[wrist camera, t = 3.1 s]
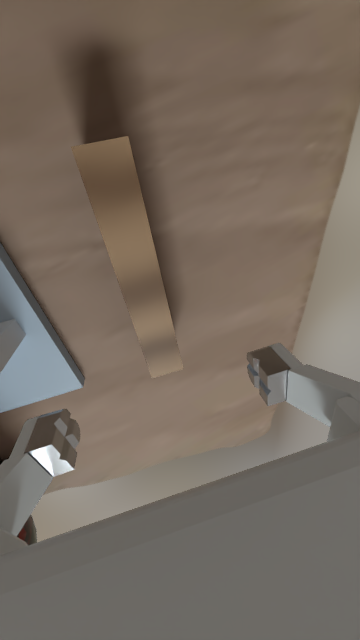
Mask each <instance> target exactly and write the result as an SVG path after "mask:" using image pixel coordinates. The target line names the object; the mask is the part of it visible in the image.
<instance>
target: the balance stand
mask: <svg viewBox="0 0 360 640" xmlns="http://www.w3.org/2000/svg"><path fill="white" fill-rule="evenodd" d="M84 380H85V378H84V377H83V375H82V374H81V372H80V370H79V369H78V367H77V366H76V364H75V362H74V361H73V359H72V357H71V356H70V354H69V353H68V351H67V349H66V348H65V346H64V345H63V343H62V341H61V340H60V338H59V336H58V335H57V333H56V332H55V330H54V328H53V327H52V325H51V324H50V322H49V320H48V319H47V317H46V315H45V314H44V312H43V311H42V309H41V307H40V306H39V304H38V303H37V301H36V299H35V298H34V296H33V294H32V293H31V291H30V290H29V288H28V286H27V285H26V283H25V282H24V280H23V278H22V277H21V275H20V273H19V272H18V270H17V269H16V267H15V265H14V264H13V262H12V260H11V259H10V257H9V256H8V254H7V252H6V251H5V249H4V248H3V246H2V244H1V243H0V413H1V412H5V411H8V410H11V409H14V408H18V407H21V406H24V405H27V404H31V403H34V402H37V401H40V400H44V399H47V398H50V397H53V396H57V395H60V394H63V393H66V392H70V391H73V390H76V389H79V388H83V385H84Z"/></svg>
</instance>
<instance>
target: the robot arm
mask: <svg viewBox="0 0 360 640" xmlns="http://www.w3.org/2000/svg"><path fill="white" fill-rule="evenodd" d="M247 360H248V362H249V365H248V366H247V369H248V374H249V378H250V380H251V382H252V383H253V385H254V387H257V388H259V392H260V396H261V397H262V399H263V400H264V401H265V403H266V404H267V406H270V405H273V404H277V403H280V402H283V401H287V402H288V403H290V404H291V405H293V406H295V407H296V408H298V409H300V410H302V411H303V412H305V413H307V414H309V415H310V416H312V417H313V418H315V419H317V420H319V421H320V422H322V423H324V424H325V425H327V426H329V427H330V431H329V435H328V439H327V442H325V443H322V444H320V445H317V446H314V447H311V448H308V449H305V450H302V451H300V452H297V453H294V454H291V455H288V456H285V457H282V458H279V459H277V460H273V461H271V462H268V463H265V464H262V465H259V466H256V467H254V468H251V469H247V470H245V471H242V472H239V473H236V474H233V475H230V476H227V477H225V478H221V479H219V480H216V481H213V482H210V483H207V484H204V485H201V486H199V487H196V488H193V489H190V490H187V491H184V492H182V493H178V494H175V495H172V496H170V497H167V498H164V499H161V500H158V501H155V502H152V503H149V504H147V505H144V506H141V507H138V508H135V509H132V510H129V511H126V512H124V513H121V514H118V515H115V516H112V517H109V518H106V519H103V520H101V521H98V522H95V523H92V524H89V525H86V526H83V527H80V528H78V529H75V530H72V531H69V532H66V533H63V534H60V535H57V536H55V537H52V538H49V539H46V540H43V541H40V542H37V543H34V544H31V545H29V546H28V545H27V543H26V542H25V541H23V540H21V539H20V538H18V537H17V535H18V534H19V532H20V531H21V529H22V527H23V526H24V524H25V523H26V521H27V519H28V518H29V516H30V515H31V513H32V511H33V509H34V508H35V506H36V505H37V503H38V502H39V500H40V498H41V497H42V495H43V494H44V492H45V490H46V489H47V487H48V486H49V484H50V482H51V481H52V479H53V477H54V476H57V475H60V474H63V473H66V472H68V471H71V470H74V467H75V462H76V457H77V452H76V450H75V447H76V446H77V445H78V443H79V441H80V428H79V425H78V423H77V422H76V420H74V419H71V418H70V415H71V413H70V412H69V411H68V410H67V409H62V410H58V411H55V412H51V413H48V414H44V415H41V416H38V417H34V418H31V419H28V420H27V421H26V422H25V423H24V426H23V428H22V430H21V432H20V435H19V437H18V439H17V441H16V444H15V446H14V448H13V450H12V453H11V455H10V457H9V459H7V460H4V461H3V462H2V463H1V465H0V640H360V382H357V381H354V380H351V379H349V378H345V377H343V376H340V375H337V374H334V373H331V372H328V371H325V370H322V369H319V368H316V367H313V366H310V365H303V364H302V363H301V362H300V361H299V360H298V359H297V358H296V357H295V356H294V355H292V354H291V353H290V352H289V351H288V350H287V349H286V348H285V347H284V346H283V345H282V344H281V343H276V344H273V345H270V346H267V347H264V348H261V349H257V350H254V351H251V352H248V353H247Z"/></svg>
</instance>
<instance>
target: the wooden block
mask: <svg viewBox="0 0 360 640" xmlns="http://www.w3.org/2000/svg"><path fill="white" fill-rule="evenodd" d="M71 148H72V151H73V154H74V157H75V160H76V163H77V166H78V168H79V171H80V174H81V177H82V180H83V183H84V186H85V188H86V191H87V194H88V197H89V200H90V203H91V206H92V208H93V211H94V214H95V217H96V220H97V223H98V226H99V228H100V231H101V234H102V237H103V240H104V243H105V245H106V248H107V251H108V254H109V257H110V260H111V263H112V265H113V268H114V271H115V274H116V277H117V280H118V283H119V285H120V288H121V291H122V294H123V297H124V300H125V303H126V305H127V308H128V311H129V314H130V317H131V320H132V322H133V325H134V328H135V331H136V334H137V337H138V340H139V342H140V345H141V348H142V351H143V354H144V357H145V360H146V362H147V365H148V368H149V371H150V374H151V377H152V378H155V377H158V376H161V375H165V374H168V373H172V372H175V371H178V370H182V369H183V365H182V361H181V356H180V352H179V348H178V344H177V340H176V335H175V331H174V327H173V323H172V319H171V314H170V310H169V306H168V302H167V297H166V293H165V289H164V285H163V281H162V276H161V272H160V268H159V264H158V260H157V255H156V251H155V247H154V243H153V239H152V234H151V230H150V226H149V222H148V218H147V213H146V209H145V205H144V201H143V196H142V192H141V188H140V184H139V180H138V175H137V171H136V167H135V163H134V159H133V154H132V150H131V146H130V142H129V138H128V136H125V137H120V138H114V139H109V140H104V141H99V142H94V143H89V144H84V145H78V146H73V147H71Z"/></svg>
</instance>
